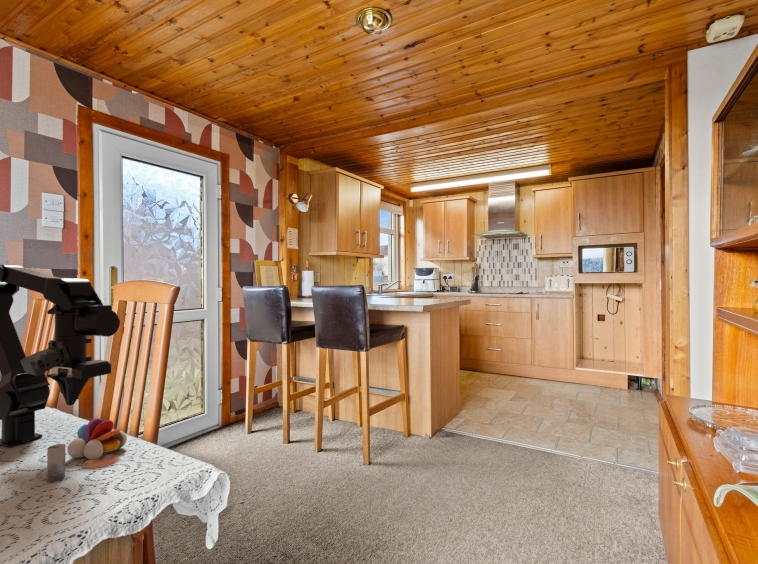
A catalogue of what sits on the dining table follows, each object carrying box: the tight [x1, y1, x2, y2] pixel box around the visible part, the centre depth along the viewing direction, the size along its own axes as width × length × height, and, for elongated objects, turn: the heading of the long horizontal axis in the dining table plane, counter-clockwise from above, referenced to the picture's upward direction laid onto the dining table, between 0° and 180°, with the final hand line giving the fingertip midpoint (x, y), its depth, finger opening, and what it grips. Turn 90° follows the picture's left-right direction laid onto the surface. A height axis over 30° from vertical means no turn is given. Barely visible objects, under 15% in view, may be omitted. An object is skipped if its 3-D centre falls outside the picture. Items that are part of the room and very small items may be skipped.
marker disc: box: [82, 454, 120, 469], centre depth 81 cm, size 6×6×1 cm
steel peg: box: [46, 443, 66, 484], centre depth 74 cm, size 3×3×6 cm
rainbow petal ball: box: [66, 417, 128, 460], centre depth 85 cm, size 8×10×7 cm
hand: (70, 404), depth 88 cm, fingers closed
